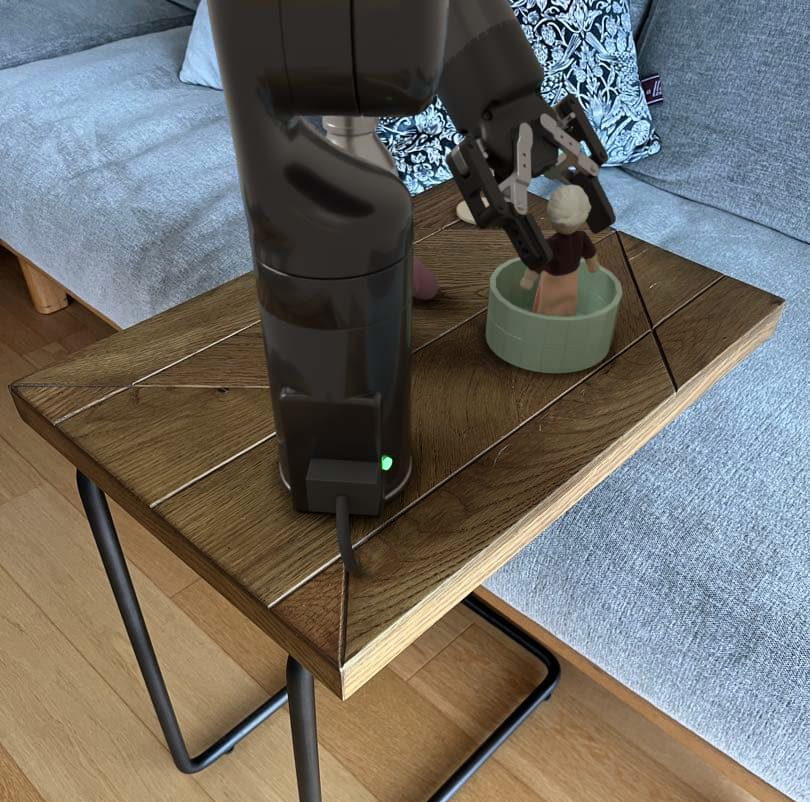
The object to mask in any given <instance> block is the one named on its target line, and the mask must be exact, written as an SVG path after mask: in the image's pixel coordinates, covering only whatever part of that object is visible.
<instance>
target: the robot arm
mask: <svg viewBox="0 0 810 802" xmlns="http://www.w3.org/2000/svg"><path fill="white" fill-rule="evenodd" d="M206 6H207V12H208V17H209V24H210V29H211V30H210V31H211V35H212V42H213V48H214V52H215V56H216V61H217V68H218V72H219V78H220V82H221V88H222V91H223V97H224V102H225V106H226V107H225V108H226V111H227V118H228V122H229V123H228V124H229V128H230V134H231V141H232V145H233V151H234V156H235V157H234V158H235V162H236V163H235V164H236V171H237V176H238V183H239V189H240V195H241V201H242V205H243V209H244V214H245V218H246V225H247V230H248V231H247V232H248V239H249V246H250V252H251V259H252V266H253V274H254V282H255V288H256V297H257V306H258V312H259V320H260V327H261V335H262V342H263V343H262V344H263V349H264V356H265V364H266V370H267V378H268V386H269V387H268V388H269V392H270V399H271V408H272V415H273V422H274V430H275V437H276V443H277V450H278V451H277V452H278V458H279V465H278V467H279V475H280V480H281V483H282V486H283V487H284V489H285V491H286V492H287V494H288V495H290V499H291V507H292V510H293V511H297V512H310V513H326V514H335V523H336V524H335V525H336V527H335V528H336V537H337V544H338V551H339V554H340V558H341V560H342V563H343V566H344V569H345V571H346V572H348V573H352V572H355V571H356V570H358V569H359V565H358V563H357V559H356V555H355V553H354V549H353V545H352V539H351V529H350V515H356V516H370V517H371V516H372V517H381V516H383V514H384V509H385V506H386V505H387V504H389V503H390V502H392V501H393V500H395V499H396V498H397V497H398V496H400V495H401V494H402V492H403V491H404V490H405V489H406V487H407V486H408V484H409V482H410V480H411V477H412V474H413V473H412V472H413V471H412V470H413V457H412V376H413V375H412V371H413V370H412V367H413V365H412V361H413V298H414V297H413V257H414V249H415V248H414V247H415V246H414V240H415V205H414V201H413V197H412V194H411V191H410V188H408V185H406V183H405V182H404V181H403V180H402V179H401V178H400V176H399V177H398V176H396V175H395V174H394V173H392V172H391V171H389V170H387V169H386V168H384V167H382V166H380V165H378V164H375V163H373V162H371V161H369V160H366V159H364V158H362V157H359V156H357V155H355V154H352V153H350V152H348V151H346V150H344V149H342V148H341V147H339V146H337V145H336V144H334V143H332V142H331V141H329V140H328V139H327V138H325V137H326V136H325V135H323V134H321V133H320V131H318V130H317V129H316V128H314V126H313V125H312V124H311V123H309V121H308V120H307V117H322V118H323V117H361V116H363V117H379V118H408V117H409V118H410V117H416V116H419V115H421V114H423V113H424V112H426V111H427V110H428V109H429V108H430V107H431V105H432V104H433V102H434V100H435V98H436V96H437V97H438V99H439V101H440V103H441V105H442V107H443V109H444V110H445V112H446V114H447V115H448V118H449V119H450V121H451V123H452V125H453V127H454V129H455V130H456V133H458V134H459V136H461V137H464V138H463V139H462V140H461V141H460V142H459V143H458V144H457V145H456V146H455V147H454V148H452V150H450V151H449V153H447V154H446V156H445V159H444V161H445V163H446V166H447V167H448V170H449V172H450V174H451V176H452V178H453V180H454V182H455V184H456V186H457V188H458V190H459V193H460V194H461V196H462V198H463V199H464V200H463V201H465V202H466V204H467V206H468V208H469V210H470V212H471V214H472V216H473V218H474V220H475V222H476V224H477V225H476V224H475V225H476V226H477V228H479V229H481V230H486V229H487V228H489V227H497V228H498V229H500V230H504V232H505V233H506V236H507V238H508V239H509V241H510V243H511V244H512V246H513V248H514V249H515V252H516V254H517V256H518V257H520V259H521V261H522V262H523V263H524V264H525V265H526V266H527V267H528V269H529V270H531V271H534V270H536V269H538V268H540V267H541V266H543V265H544V264H546V263H547V262H549V261H551V260H552V258H553V252H552V250H551V249H550V247H549V245H548V243H547V241H546V239H547V238H546V237H545V235H544V234H543V232H542V230H541V228H540V226H539V223H538V222H537V220H536V219H535V216H534V215H533V212H529V213H528V208H529V207H528V187H529V186H530V185H531V182H532V179H537V178H539V177H541V176H544V177H545V178H546V179H548V180H558V181H559V182H560V183H561V184H563V185H577V186H580V187H581V188H582V189H583V190H584V193H585V194H586V195H587V196H588V200H589V203H590V205H591V210H590V212H589V213H588V216H587V219H586V220H585V221H584V222H586V224H587V227H588V229H589V230H590V232H591V233H592V234H593V235H597V234H600V233H601V232H603V231H604V230H606V229H608V228H609V227H611V226H613V225H614V224H616V221H617V217H616V214H615V211H614V208H613V205H612V204H611V202H610V199H609V197H608V196H607V194H606V192H605V190H604V188H603V186H602V183H601V182H600V179H599V175H600V170H601V168H602V166H603V165H604V164H605V163H607V162H608V161H609V154H608V151H607V150H606V148H605V147H604V144H603V143H602V141H601V139H600V138H599V136H598V134H597V132H596V131H595V128H594V127H593V125H592V123H591V121H590V119H589V117H588V115H587V114H586V112H585V111H584V108H583V107H582V104H581V103H580V101H579V100H578V98H577V96H576V94H574V93H572V92H569V93H568V94H566V95H565V96H564V97H562V98H561V99H560V100H559V101H557V102H556V104H554V105H552V106H551V104H550V103H548V102H547V100H546V99H545V97H544V96H543V95H542V85H543V83H544V81H545V77H546V74H545V70H544V68H543V66H542V64H541V62H540V60H539V58H538V57H537V54H536V53H535V51H534V49H533V46H532V45H531V42H530V41H529V39H528V36H527V35H526V33H525V30H524V29H523V27H522V25H521V23H520V21H519V19H518V17H517V16H516V14H515V12H514V9H513V8H512V6H511V4H510V2H509V0H206ZM582 142H584V144H585V145H586V147H587V149H588V151H589V153H590V154H589V155H587V154H585V153H583V150H582V145H581V143H582ZM560 151H561V152H560ZM570 167H574V169H575V171H573V170H572V169H570ZM481 192H482V193H483V195H484V198H486V199H487V201H488V203H489V206H487V207H486V206H485V204H484V202H483V200H482V198H483V197H482V196H481Z"/></svg>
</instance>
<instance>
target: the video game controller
mask: <svg viewBox="0 0 810 802" xmlns="http://www.w3.org/2000/svg"><path fill="white" fill-rule="evenodd" d="M438 290H439V279H438V276H437V274H436V273H435V272H433V271H432V270H430V269H429V268H427V267H426V266H425V265H424V264H423V262H422V261H420V260H419V259H418V258H416V257H415V256H413V298H416V299H417V300H422V301H423V300H424V301H428V300H431V299H433V298H434V297H435V296H436V295H437V293H438Z"/></svg>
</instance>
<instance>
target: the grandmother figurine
mask: <svg viewBox="0 0 810 802" xmlns="http://www.w3.org/2000/svg"><path fill="white" fill-rule="evenodd" d="M549 196H550V197H549V199H548V201H547V205H546V211H547V218H548V220H549V222H550V226H551V228H552V230H554V231H555V233H554V234H552V235H551V236H549V237H547V238H545V239H546V241H547V243H548V245H549V247H550V249H551V250H552V252H553V258H552V260H551V261H549V262H547V263H546V264H544V265H543V266H541V267H540V268H538V269H536V270H534V271H531V270H529V269H528V267H527V269H526V271H525V274H524V278H523V279H522V280H521V281H520V287H521V288H522V289H523V290H530V289H531V288H532V286H533V282H534V281H535V280H536V278H537V276H538V275H539V274H540V273H541V272H542V274H541V278H540V282H539V286H538V290H537V293H536V297H535V301H534V305H533V310H532V312H533V313H537V314H542V315H546V316H559V317H572V316H576V310H577V303H578V272H577V269H578V267H579V265H580V260H581V258H583V259H584V260H585V262H586V264H587V269H588V271H589V272H591V273H595V272H597V271H598V270H599V267H600V265H601V264H600V262H599V261H598V254H597V248H596V246H595V245H594V243H593V241H592V240H591V239H592V238H590V236H589V235H588V233H587V232H586V231H584V230H579V228H581V226H582V224H584V223H585V222H586V221H585V220H586V219H587V216H588V213H589V212H590V210H591V205H590V203H589V200H588V196H587V195H586V194H585V193H584V190H583V189H582V188H581V187H580V186H577V185H564V184H563V185H561V186H560V187H559V188H556V189H555V190H554V191H552V193H551V194H550V195H549Z"/></svg>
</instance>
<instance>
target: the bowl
mask: <svg viewBox="0 0 810 802" xmlns="http://www.w3.org/2000/svg"><path fill="white" fill-rule="evenodd" d="M599 265H600V267H599V270H598V271H597V272H595V273H591V272H589V271H588V269H587V264H586V262H585V260H584V257H581V260H580V265H579V267H578V269H577V272H578V303H577V310H576V316H572V317H559V316H546V315H542V314H537V313H533V312H532V310H533V305H534V301H535V297H536V293H537V290H538V286H539V282H540V278H541V274H542V272H541V273H540V274H539V275H538V276H537V278H536V280H535V281H534V282H533V286H532V288H531V289H530V290H523V289H522V288H521V287H520V281H521V280H522V279H523V278H524V274H525V271H526V269H527V266H526V265H525V264H524V263H523V262H522V261H521V259H520V257H519V256H518V257H516V258H511V259H509V260H507V261H505V262H504V263H502V264H500V265H498V266H497V267H496V268H495V270H494V271H493V272H492V274H491V275H490V278H489V287H488V297H487V298H488V299H487V301H488V302H487V310H486V322H485V340H486V343H487V345H488V347H489V349H490V350H491V351H492V352H493V353H494V354H495V355H496V356H497V357H498V358H500V359H502V360H503V361H504V362H506V363H509V364H510V365H513V366H514V367H516V368H520V369H522V370H527V371H531V372H536V373H543V374H569V373H575V372H580V371H584V370H586V369H587V370H588V369H589V368H592V367H593V366H596V365H597V364H599V363H601V362H602V361H603V360H604V359H605V358H606V357H607V356H608V355H609V352H610V350H611V346H612V344H613V341H614V336H615V331H616V326H617V322H618V317H619V312H620V309H621V303H622V300H623V295H624V293H623V288H622V284H621V281H620V280H619V279H618V278H617V277H616V275H615V274H614V273H613V272H612V271H610V270H609V269H607V268H606V267H604V266H602V265H601V264H599Z"/></svg>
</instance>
